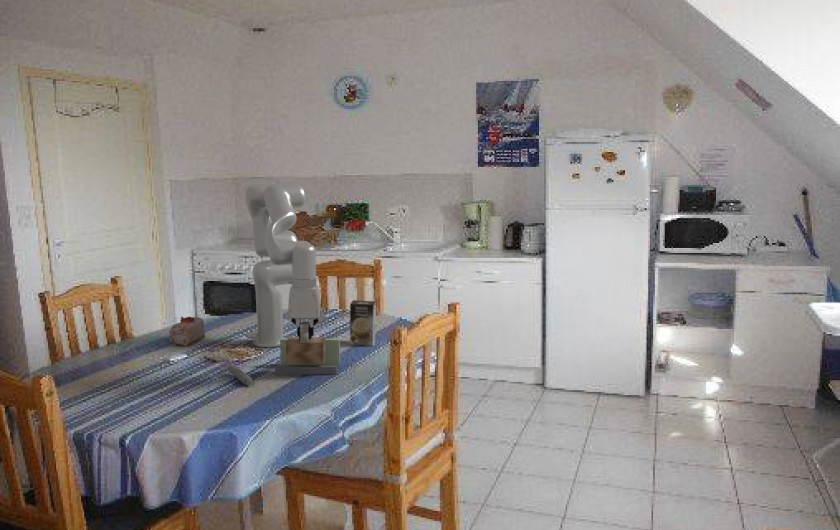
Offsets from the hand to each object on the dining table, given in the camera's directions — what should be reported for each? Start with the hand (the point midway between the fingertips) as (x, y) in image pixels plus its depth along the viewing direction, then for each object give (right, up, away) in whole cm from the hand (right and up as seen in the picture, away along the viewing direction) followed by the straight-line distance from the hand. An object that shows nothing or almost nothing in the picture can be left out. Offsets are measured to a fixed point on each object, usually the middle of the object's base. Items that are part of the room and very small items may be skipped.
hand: (305, 337), depth 217 cm
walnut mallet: (0, -8, +2) cm, 8 cm away
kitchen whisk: (-24, -12, +1) cm, 27 cm away
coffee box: (+16, -6, +35) cm, 39 cm away
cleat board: (0, -11, +6) cm, 12 cm away
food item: (-51, -6, +36) cm, 63 cm away
